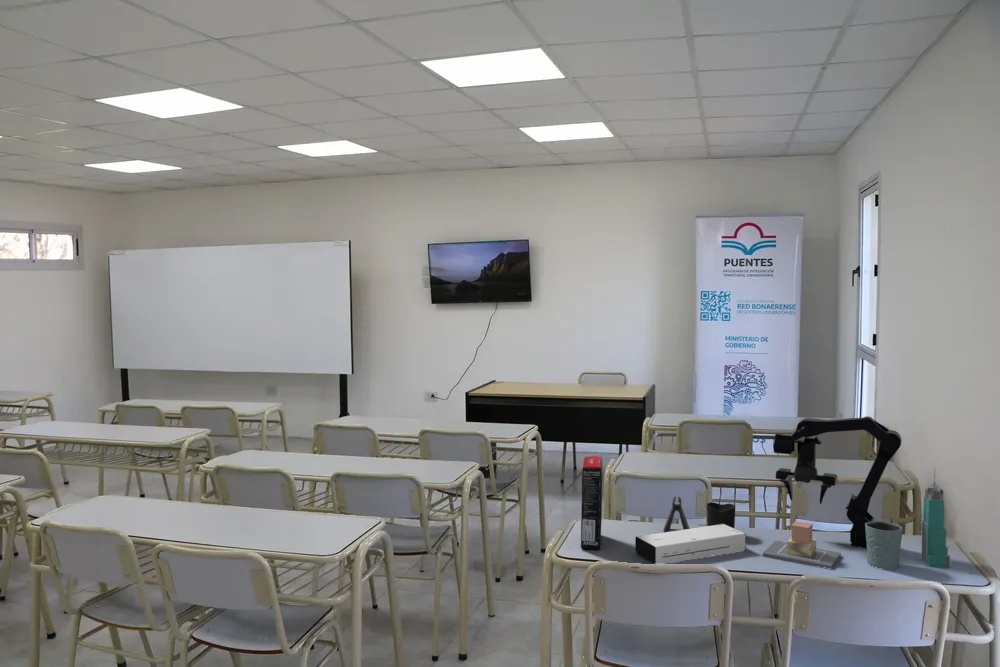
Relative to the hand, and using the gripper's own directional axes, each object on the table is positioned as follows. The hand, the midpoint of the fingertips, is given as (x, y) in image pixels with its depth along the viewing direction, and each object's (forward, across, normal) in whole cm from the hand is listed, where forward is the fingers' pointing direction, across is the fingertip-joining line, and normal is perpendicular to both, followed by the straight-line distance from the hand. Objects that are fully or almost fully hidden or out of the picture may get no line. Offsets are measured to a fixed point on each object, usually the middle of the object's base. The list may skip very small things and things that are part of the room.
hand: (805, 501), depth 249 cm
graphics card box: (+12, -59, -43) cm, 74 cm away
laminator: (+13, -28, -35) cm, 47 cm away
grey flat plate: (+12, +3, -20) cm, 24 cm away
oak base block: (+12, +3, -20) cm, 24 cm away
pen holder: (+12, -25, -12) cm, 30 cm away
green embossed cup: (+12, +25, -15) cm, 32 cm away
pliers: (+12, -38, -19) cm, 44 cm away
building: (+12, +38, -6) cm, 41 cm away
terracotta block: (+7, +3, -20) cm, 22 cm away
